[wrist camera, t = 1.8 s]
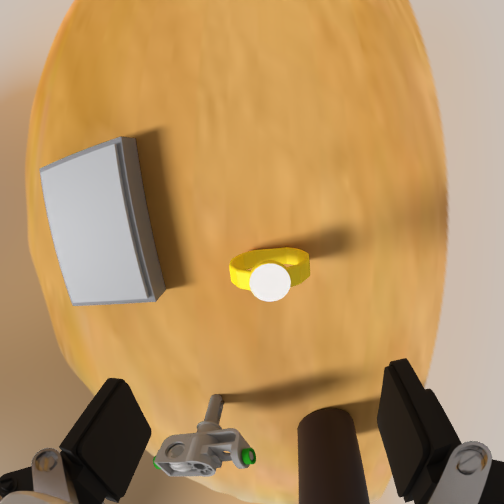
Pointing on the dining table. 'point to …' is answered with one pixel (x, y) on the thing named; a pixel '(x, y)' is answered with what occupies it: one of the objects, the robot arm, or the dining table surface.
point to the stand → (102, 225)
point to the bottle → (330, 460)
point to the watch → (270, 271)
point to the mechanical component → (204, 447)
